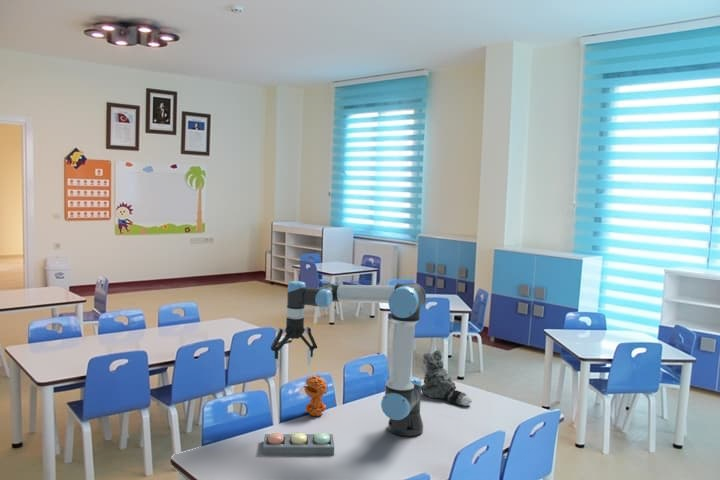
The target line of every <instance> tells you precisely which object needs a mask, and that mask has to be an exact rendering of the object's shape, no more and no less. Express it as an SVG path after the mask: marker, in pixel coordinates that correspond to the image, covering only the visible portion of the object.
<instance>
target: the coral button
mask: <svg viewBox="0 0 720 480" xmlns="http://www.w3.org/2000/svg"><path fill="white" fill-rule="evenodd" d="M269 434H270V435H269V436H268V444H283V441H284V436H283V435H282V434H283V433H279V432H276V433H275V432H274V433H269Z"/></svg>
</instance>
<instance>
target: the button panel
mask: <svg viewBox="0 0 720 480" xmlns="http://www.w3.org/2000/svg"><path fill="white" fill-rule="evenodd" d="M270 434H271V433H265V434H264V438H263V445H262V455H263V456H264V455H265V456H268V455H271V456H272V455H273V456H274V455H275V456H277V455H278V456H283V455H284V456H309V455H310V456H334V455H335V442H334V441H335V440H334V434H332V433H329V434H328V433H327V434H328V435H329V436H330V442H329V444H314V436H315V435H316V434H317V433H315V434H314V433H308V434H306V433H304V434H305V435H306V436H307V443H306V444H291V436H292V435H293V434H294V433H281V434H282V435H283V436H284V441H283V444H268V436H269V435H270Z"/></svg>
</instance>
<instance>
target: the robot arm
mask: <svg viewBox="0 0 720 480" xmlns="http://www.w3.org/2000/svg"><path fill="white" fill-rule="evenodd" d="M286 293H287V297H286V299H287V302H286V303H287V304H286V316H287V317H286V326H285V328H281V327H279V328H278V332H277V334H276V336H275V338H274V340H273V342H272V345H270V350H271V351H273V352H274V359H275V360H276V367H277V368H280V365H281V364H280V363H281V361H280V360H281V352H280V350H281V349H282V348H283V347H284V345H286V343H287V342H288V341H290V339H291V340H295V339H296V340H298V339H301V340H302V341H303V342H304V344H305V345H306V346H307V347H308V348H307V351H306V352H307V353H306V354H307V355H306V356H307V357H306V364H307V365H308V366H311V358H313V357H314V350H315V349H318V346H317V343H316V341H315V339H314V337H313V335H312V330H311V327H309V326H307V327H304V325H305V324H304V323H305V318H304V317H305V306H311V307H319V308H329V307H330V306H331V305H332V302H334V303H338V302H340V303H342V302H343V303H367V304H369V303H371V304H388V309H389V310H390V320H391V321H392V322H393V329H392V330H393V331H392V344H391V360H390V369H389V371H390V372H389V379H388V380H387V381H386V382H385V389H384V390H385V391H384V396H383V397H382V399H381V403H380V407H381V410H382V412H383V413H384V415H385V416H386V418H388V419H389V420H388V423H387V424H388V425H387V429H388V430H389V431H390V432H391V433H393V434H395V435H399V436H403V437H413V436H418V435H420V434H422V433H423V432H424V423H423V419H422V416H421V400H422V399H421V398H422V390H421V387H422V379H420V378H419V377H416V376H412V371H413V370H412V369H413V356H414V344H415V343H414V342H415V333H416V332H415V330H416V324H417V323H419V321H420V316H421V308H422V307H423V306H424V304H425V303H426V299H427V294H426V291H425V288H423V287H422V286H421V285H420V284H418V283H416V282H407V283H403V282H402V283H395V284H394V285H374V284H373V285H370V284H369V285H366V284H365V285H363V284H360V285H359V284H337V283H327V284H325V285H322V286H320V287H317V288H314V287H307V285H306V282H304V281H299V280H293V281H289V282H288V284H287V292H286ZM304 332H305V333H306V334H307V336H308V338H309V340H310V342H311V344H312V345H311V344H310V342H309V341H308V340H307V339H306V338H305V336H304ZM284 333H286V334H285V335H284ZM283 335H284V337H283ZM282 337H283V338H282ZM281 338H282V339H281Z"/></svg>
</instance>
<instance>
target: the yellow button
mask: <svg viewBox="0 0 720 480" xmlns="http://www.w3.org/2000/svg"><path fill="white" fill-rule="evenodd" d="M292 434H293V435H292V436H291V444H306V443H307V436H306V435H305V434H306V433H301V432H299V433H298V432H296V433H292Z"/></svg>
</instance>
